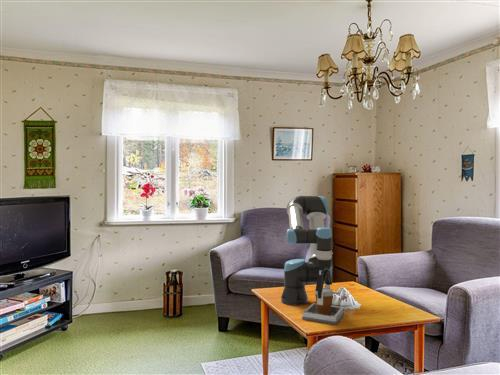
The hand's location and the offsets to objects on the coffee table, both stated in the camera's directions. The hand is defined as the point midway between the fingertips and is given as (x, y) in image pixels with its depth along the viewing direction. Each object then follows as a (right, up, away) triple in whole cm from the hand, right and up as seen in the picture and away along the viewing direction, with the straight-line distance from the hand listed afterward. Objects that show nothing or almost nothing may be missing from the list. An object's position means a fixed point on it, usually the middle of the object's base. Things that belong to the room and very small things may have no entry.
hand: (323, 301), depth 202 cm
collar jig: (0, -8, 0) cm, 8 cm away
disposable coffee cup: (0, -7, 0) cm, 7 cm away
